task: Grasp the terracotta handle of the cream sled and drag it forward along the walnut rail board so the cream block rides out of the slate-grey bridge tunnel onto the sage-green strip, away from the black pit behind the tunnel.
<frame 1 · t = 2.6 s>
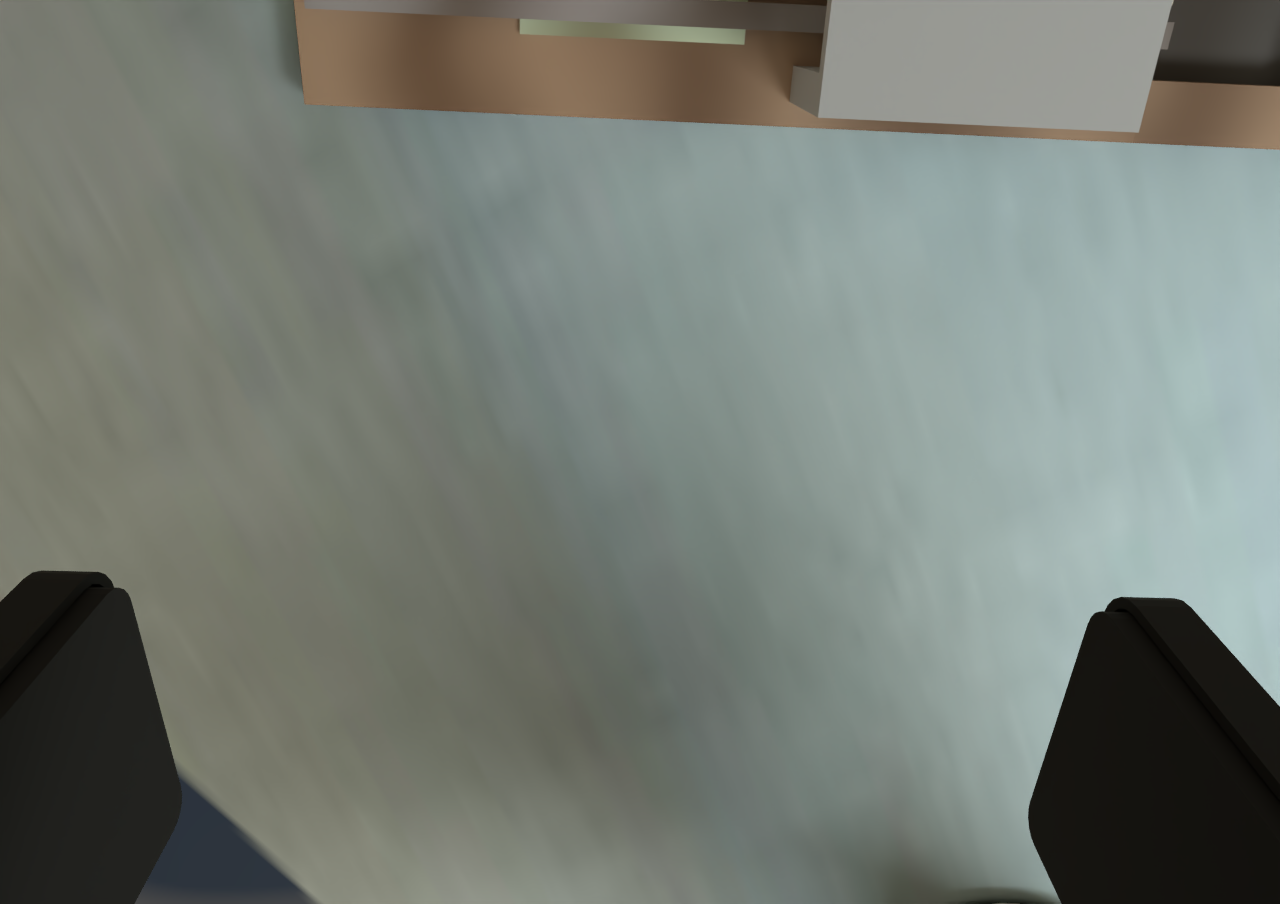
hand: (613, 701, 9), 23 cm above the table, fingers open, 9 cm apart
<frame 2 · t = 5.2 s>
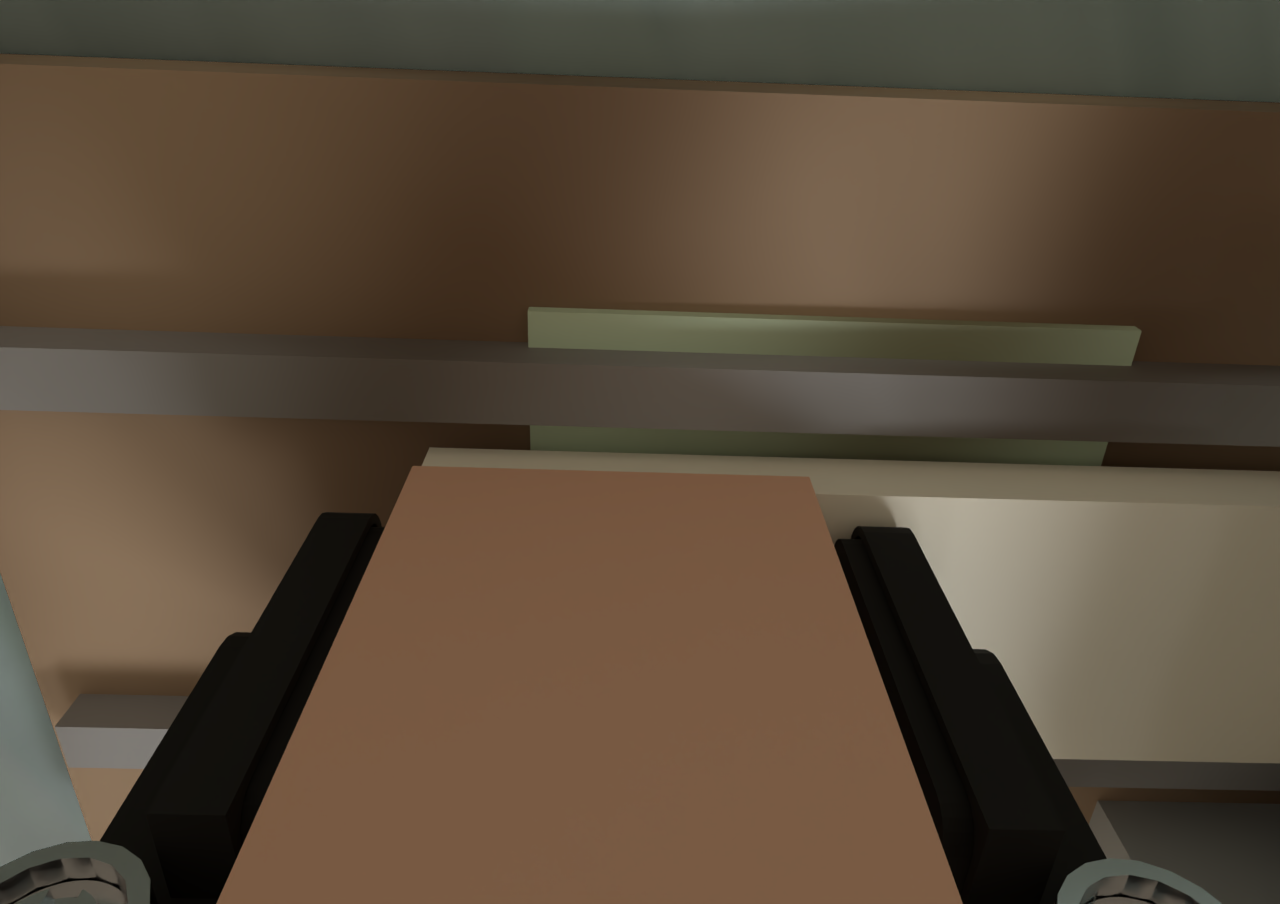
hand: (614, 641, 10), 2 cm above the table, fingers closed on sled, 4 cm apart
rail board: (1212, 540, 12), on the table
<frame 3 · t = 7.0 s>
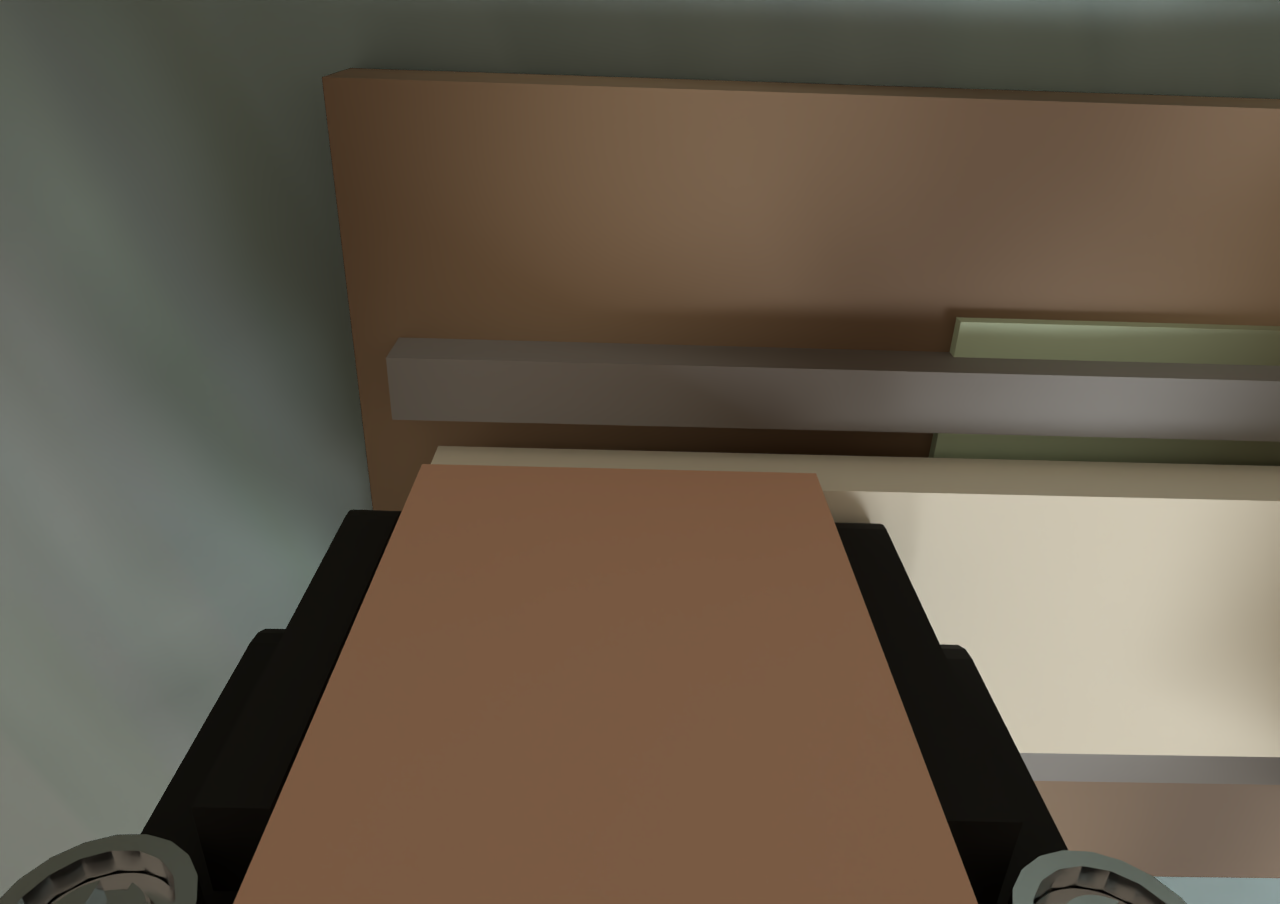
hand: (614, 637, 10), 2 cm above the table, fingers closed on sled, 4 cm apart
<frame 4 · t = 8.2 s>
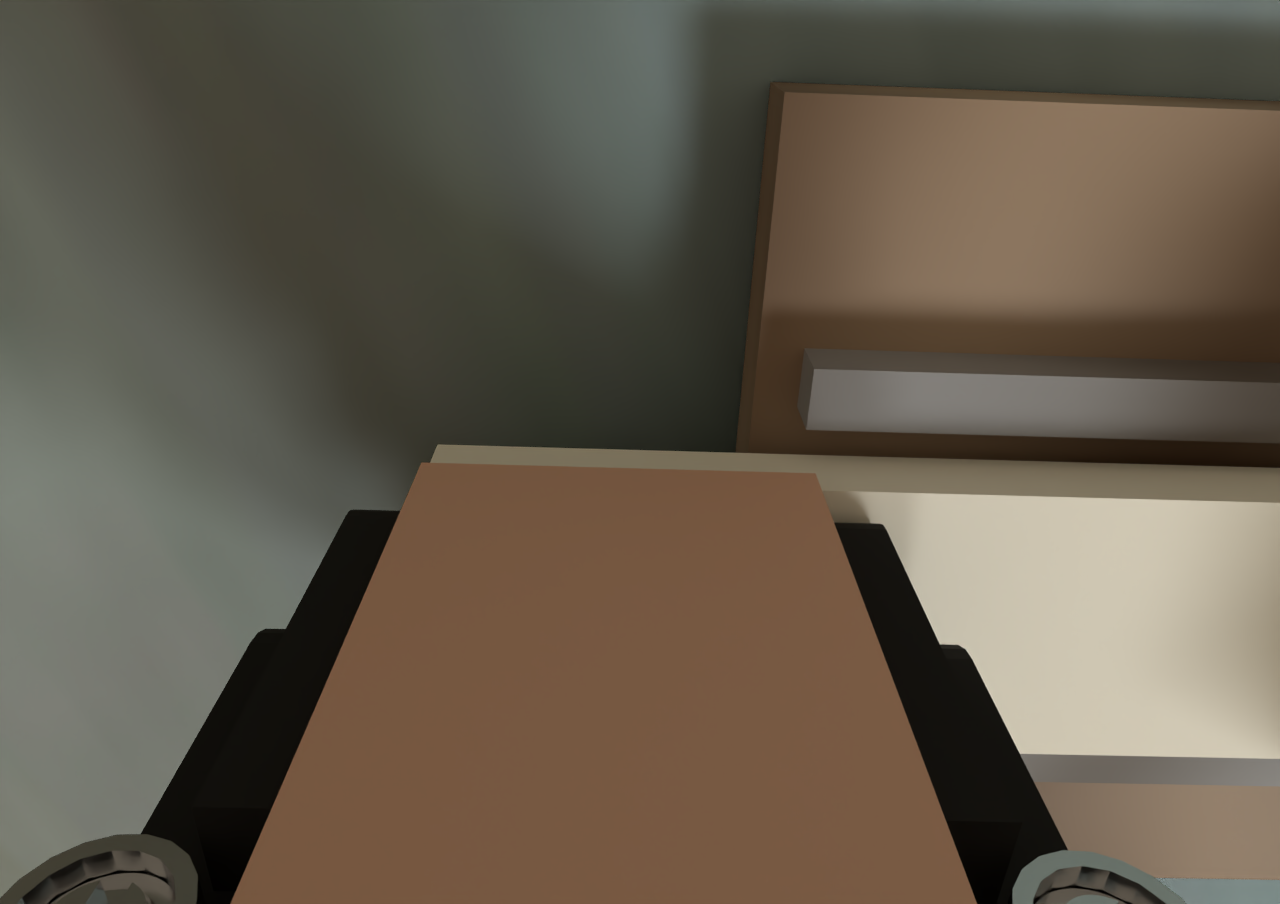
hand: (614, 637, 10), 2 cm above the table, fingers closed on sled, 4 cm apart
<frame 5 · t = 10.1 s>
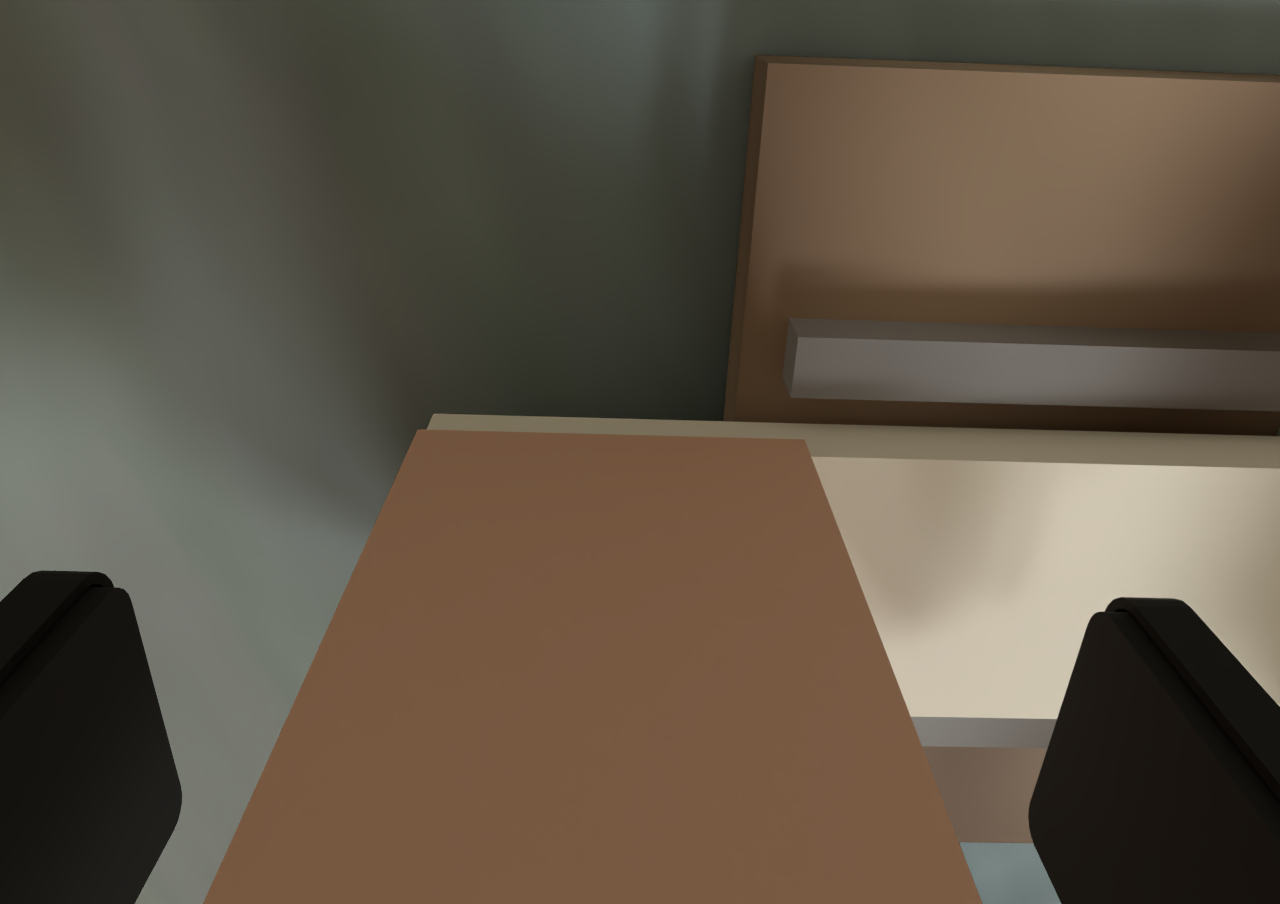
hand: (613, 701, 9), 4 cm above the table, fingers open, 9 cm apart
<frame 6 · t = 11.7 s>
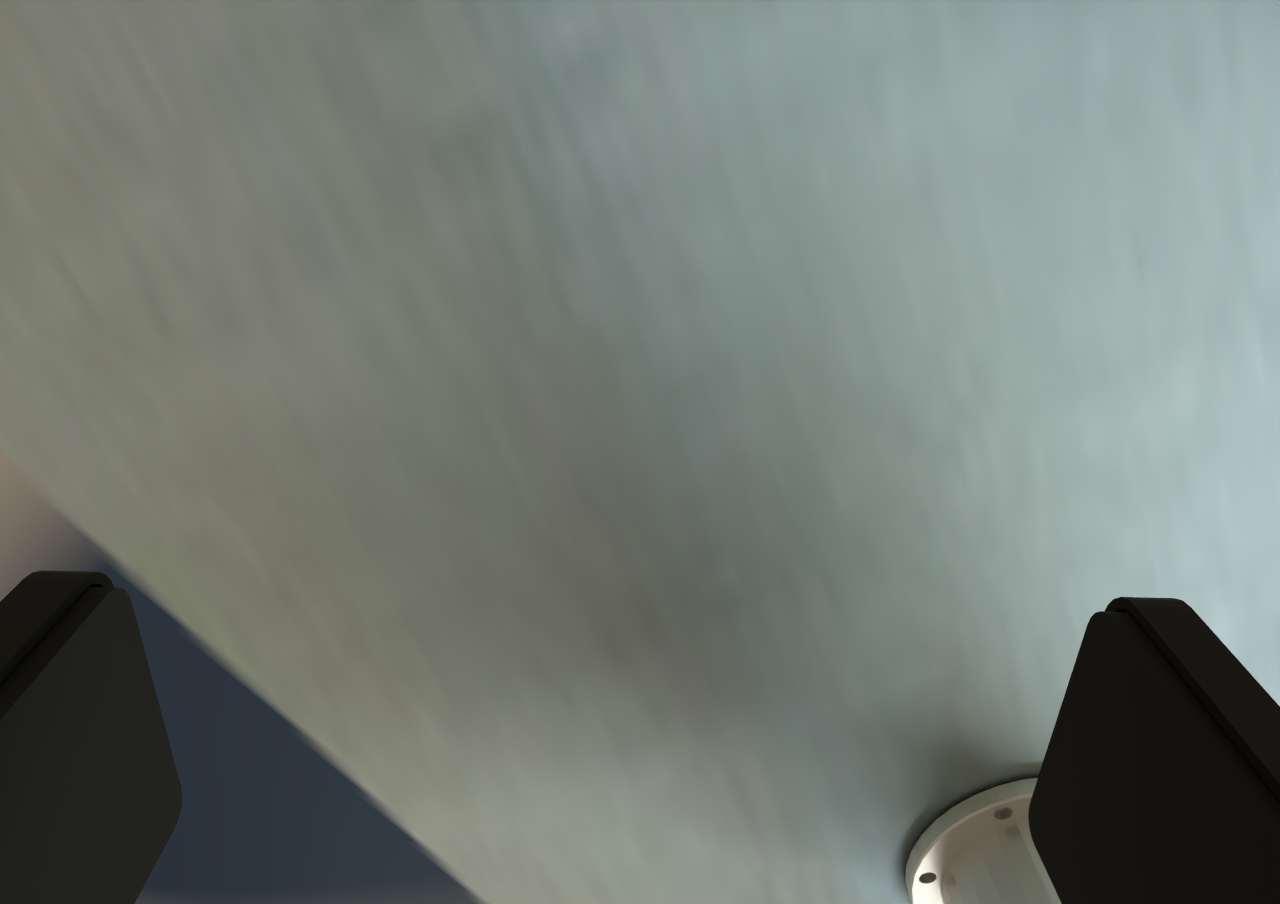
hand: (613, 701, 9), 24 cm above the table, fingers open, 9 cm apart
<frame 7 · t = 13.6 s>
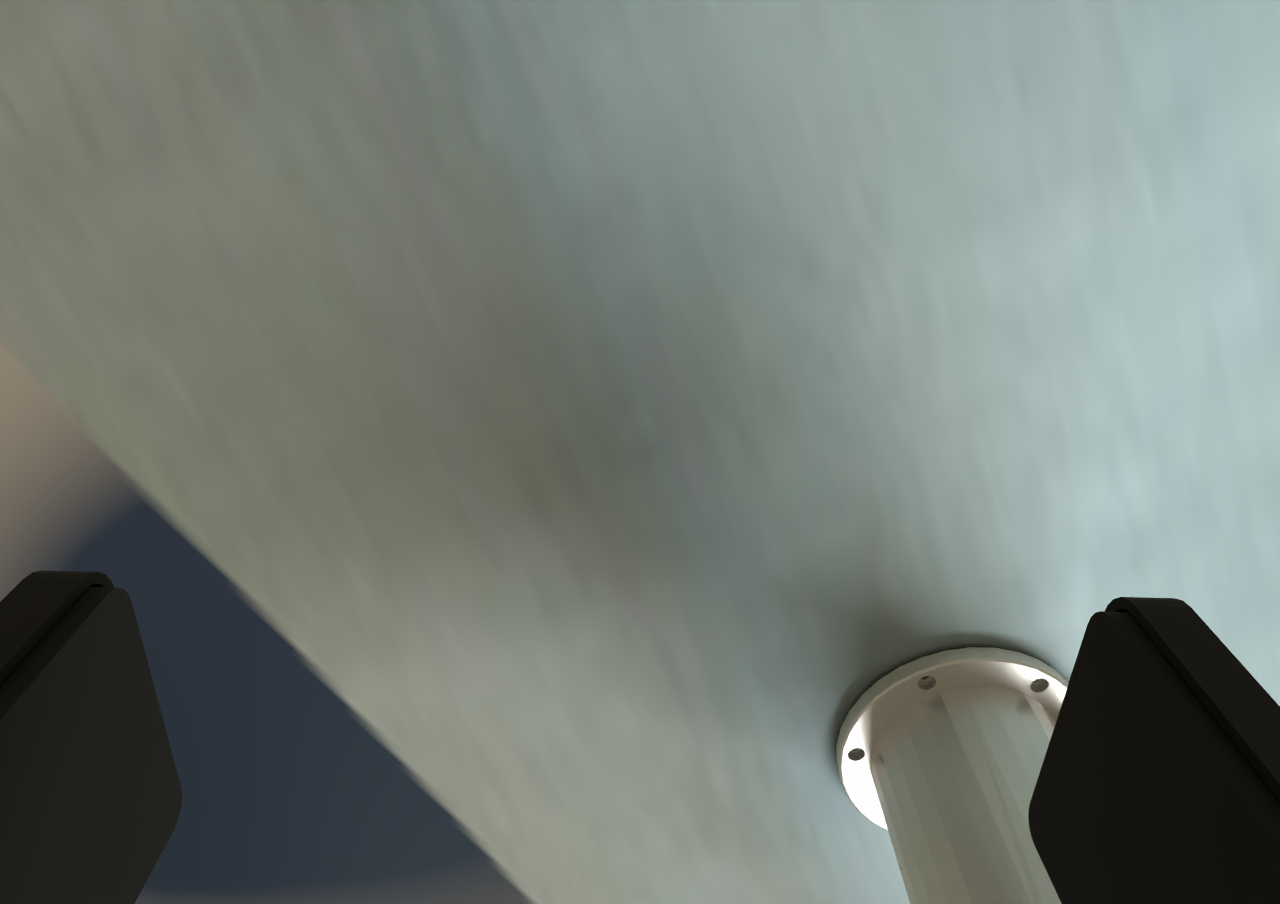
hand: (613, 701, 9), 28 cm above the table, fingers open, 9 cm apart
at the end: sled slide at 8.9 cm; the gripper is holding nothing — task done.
